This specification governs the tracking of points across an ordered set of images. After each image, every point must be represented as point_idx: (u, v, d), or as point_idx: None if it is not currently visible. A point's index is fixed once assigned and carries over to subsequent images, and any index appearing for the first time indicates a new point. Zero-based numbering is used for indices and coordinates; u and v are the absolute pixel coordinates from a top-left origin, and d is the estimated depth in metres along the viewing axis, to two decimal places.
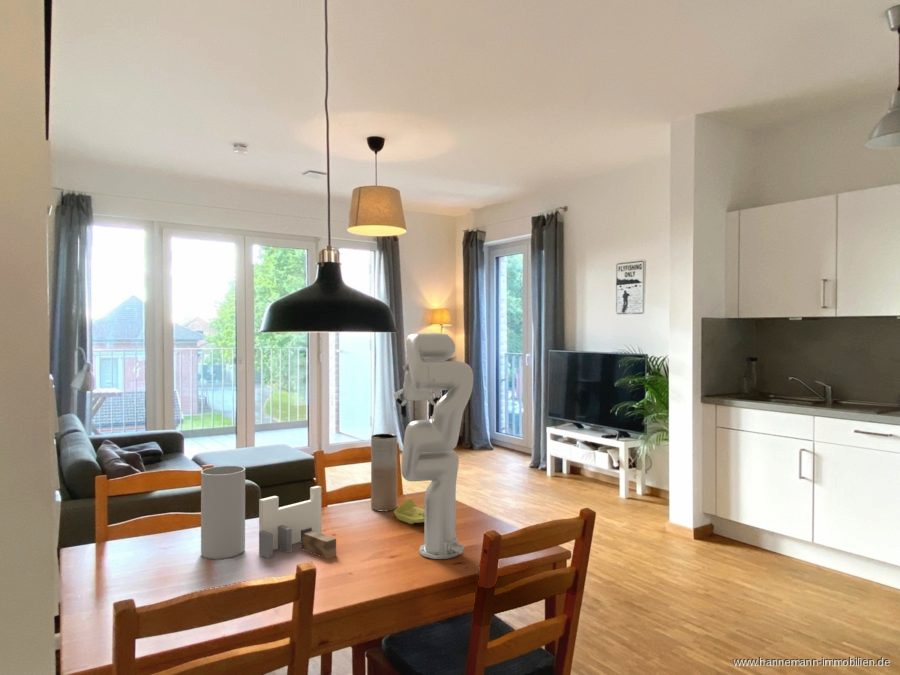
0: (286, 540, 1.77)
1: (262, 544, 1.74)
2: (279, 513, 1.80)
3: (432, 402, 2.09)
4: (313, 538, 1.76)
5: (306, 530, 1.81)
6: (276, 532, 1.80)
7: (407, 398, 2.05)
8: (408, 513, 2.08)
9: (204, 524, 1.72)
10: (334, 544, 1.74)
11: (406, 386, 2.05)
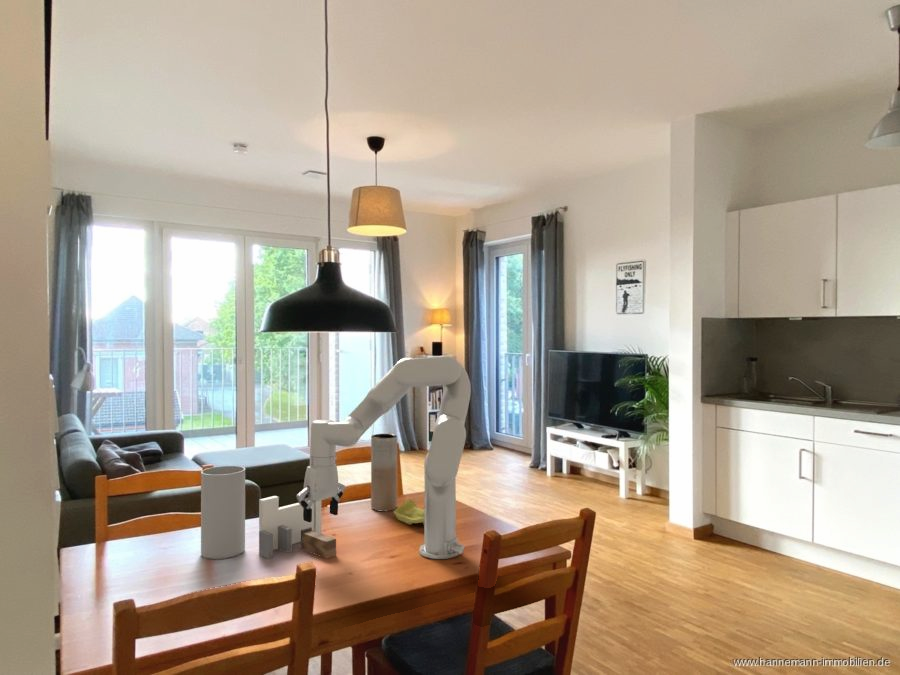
0: (286, 540, 1.77)
1: (262, 544, 1.74)
2: (279, 513, 1.80)
3: None
4: (313, 538, 1.76)
5: (306, 530, 1.81)
6: (276, 532, 1.80)
7: None
8: (407, 513, 2.07)
9: (204, 524, 1.72)
10: (334, 544, 1.74)
11: None
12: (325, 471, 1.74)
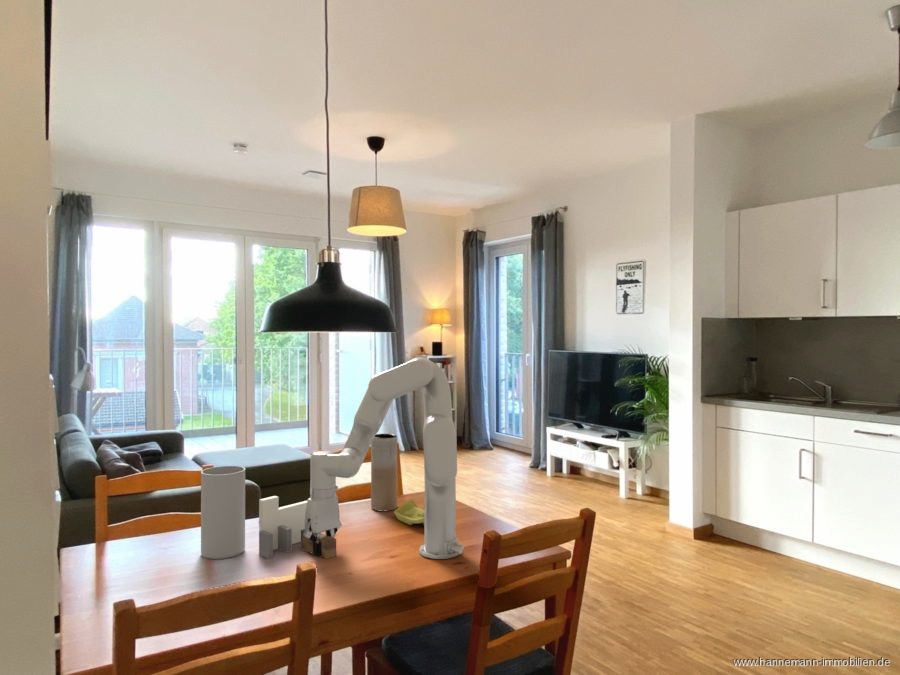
0: (286, 540, 1.77)
1: (262, 544, 1.74)
2: (279, 513, 1.80)
3: None
4: None
5: None
6: (276, 532, 1.80)
7: None
8: (408, 514, 2.07)
9: (204, 524, 1.72)
10: (334, 544, 1.74)
11: None
12: (326, 503, 1.74)
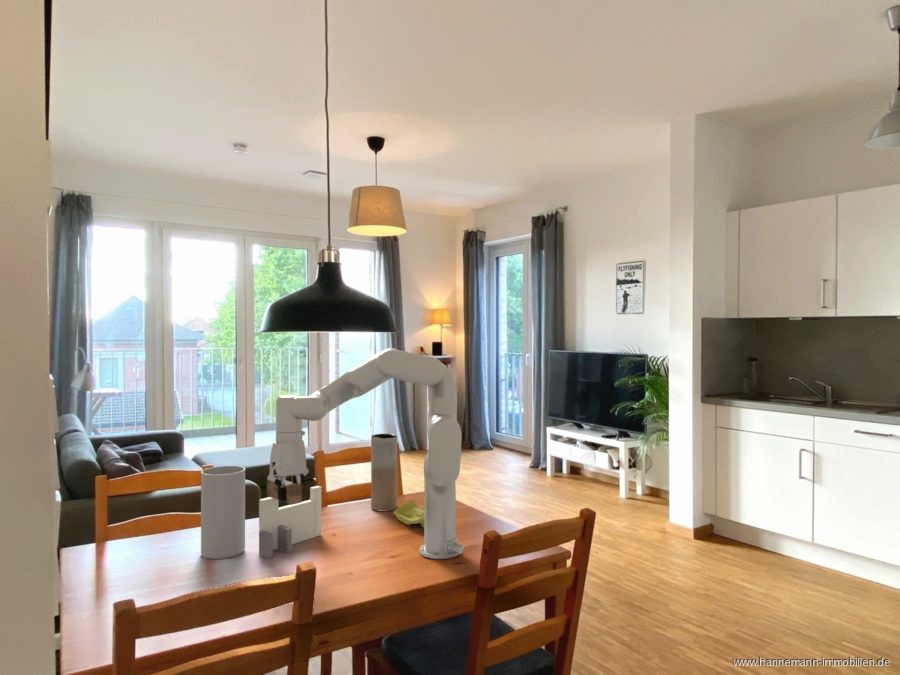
0: (286, 540, 1.77)
1: (262, 544, 1.74)
2: (279, 513, 1.80)
3: None
4: None
5: None
6: (276, 532, 1.80)
7: None
8: (407, 514, 2.07)
9: (204, 524, 1.72)
10: (300, 491, 1.70)
11: None
12: (291, 446, 1.70)
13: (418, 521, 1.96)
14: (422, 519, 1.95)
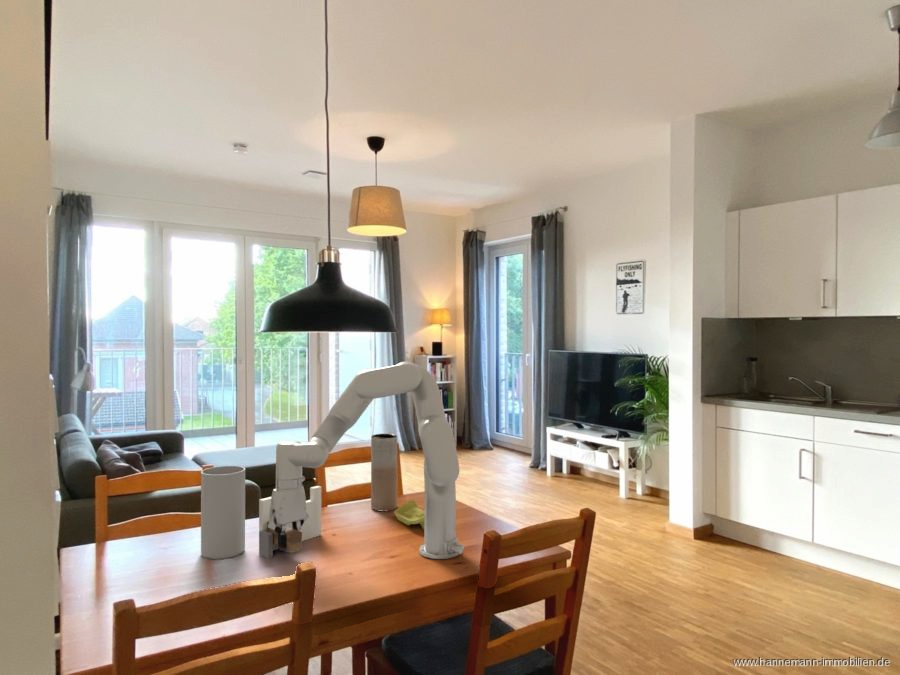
0: None
1: (262, 544, 1.74)
2: None
3: None
4: None
5: None
6: None
7: None
8: (407, 514, 2.07)
9: (204, 524, 1.72)
10: (300, 538, 1.70)
11: None
12: (291, 493, 1.70)
13: (418, 521, 1.95)
14: (422, 519, 1.95)
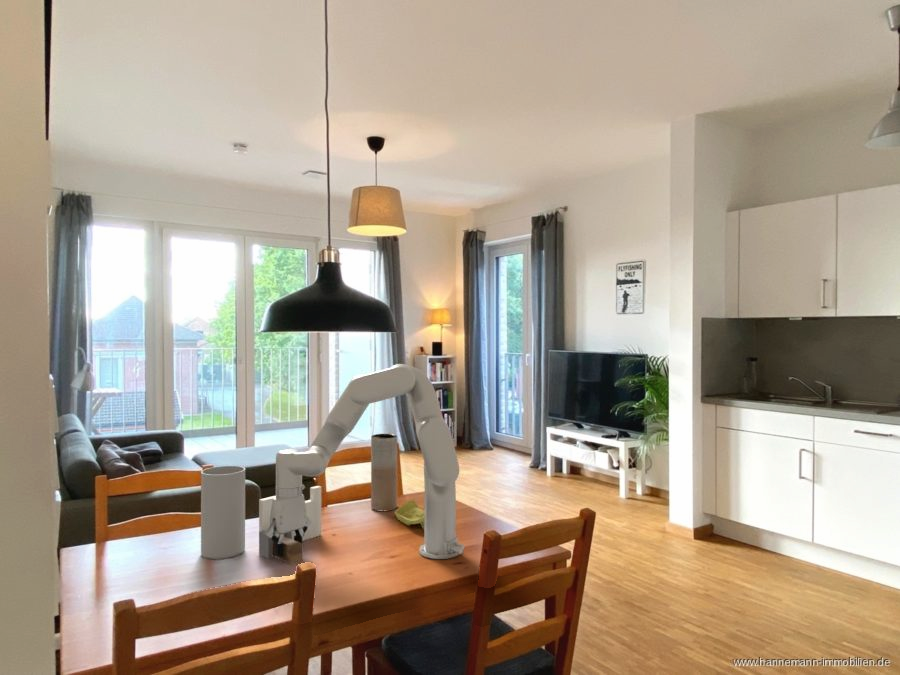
0: None
1: (262, 544, 1.74)
2: None
3: None
4: None
5: None
6: None
7: None
8: (407, 514, 2.07)
9: (204, 524, 1.72)
10: (300, 549, 1.70)
11: None
12: (291, 502, 1.70)
13: (418, 521, 1.95)
14: (422, 519, 1.95)
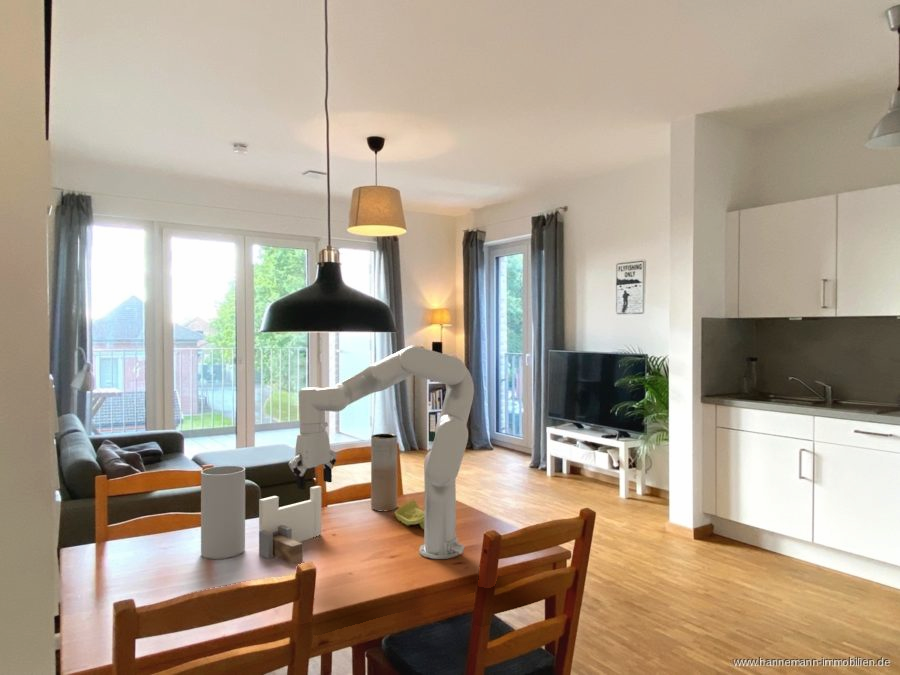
0: None
1: (262, 544, 1.74)
2: (279, 513, 1.80)
3: None
4: (280, 542, 1.72)
5: (273, 534, 1.77)
6: None
7: None
8: (407, 514, 2.06)
9: (204, 524, 1.72)
10: (300, 549, 1.70)
11: None
12: (316, 437, 1.73)
13: (416, 522, 1.95)
14: (420, 520, 1.95)
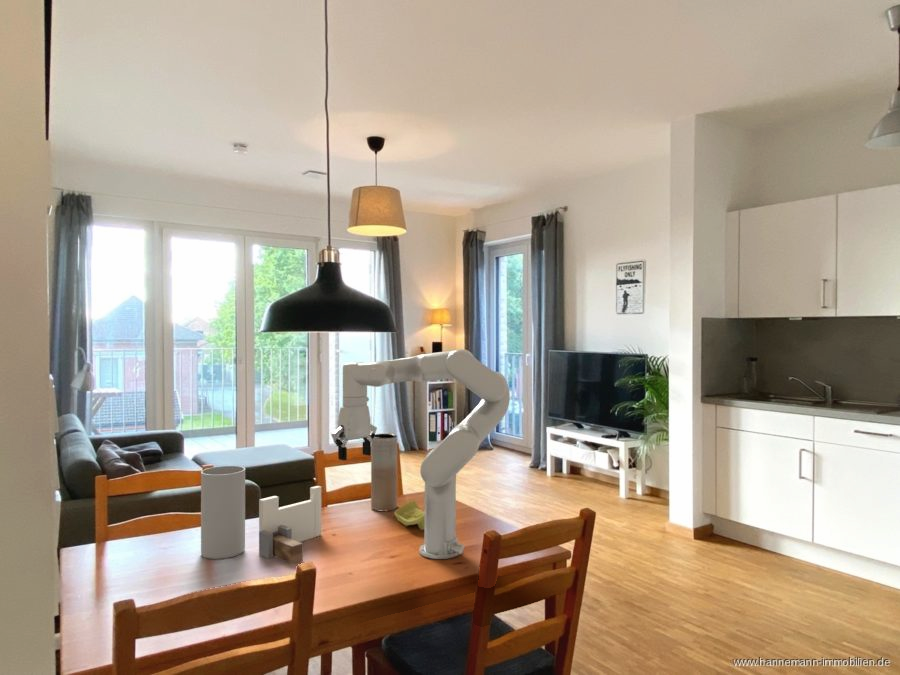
0: None
1: (262, 544, 1.74)
2: (279, 513, 1.80)
3: None
4: (280, 542, 1.72)
5: (273, 534, 1.77)
6: None
7: None
8: (406, 514, 2.06)
9: (204, 524, 1.72)
10: (300, 549, 1.70)
11: None
12: (358, 411, 1.78)
13: (414, 522, 1.94)
14: (418, 520, 1.94)
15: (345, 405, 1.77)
